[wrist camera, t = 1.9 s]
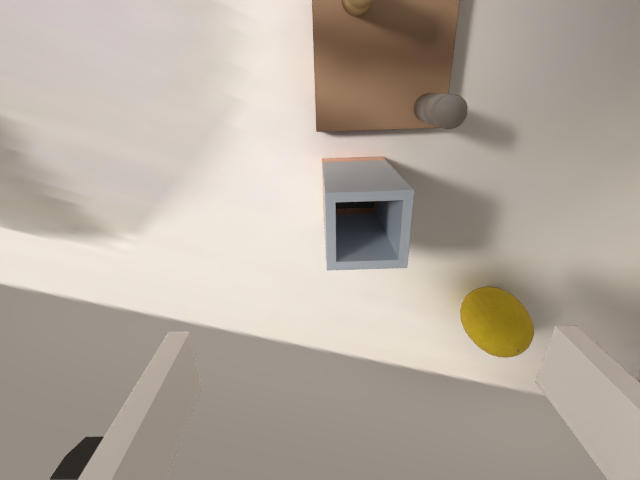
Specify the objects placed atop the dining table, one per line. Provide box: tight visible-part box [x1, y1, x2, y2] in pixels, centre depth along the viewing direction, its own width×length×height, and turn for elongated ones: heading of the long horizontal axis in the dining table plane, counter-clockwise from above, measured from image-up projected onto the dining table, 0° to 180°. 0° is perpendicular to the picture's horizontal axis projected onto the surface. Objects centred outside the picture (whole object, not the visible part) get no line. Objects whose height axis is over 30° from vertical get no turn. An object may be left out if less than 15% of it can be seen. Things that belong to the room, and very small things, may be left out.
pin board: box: [312, 0, 467, 132], centre depth 22 cm, size 12×10×6 cm
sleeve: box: [322, 157, 414, 270], centre depth 25 cm, size 5×5×10 cm
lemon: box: [460, 287, 534, 357], centre depth 31 cm, size 6×6×8 cm
